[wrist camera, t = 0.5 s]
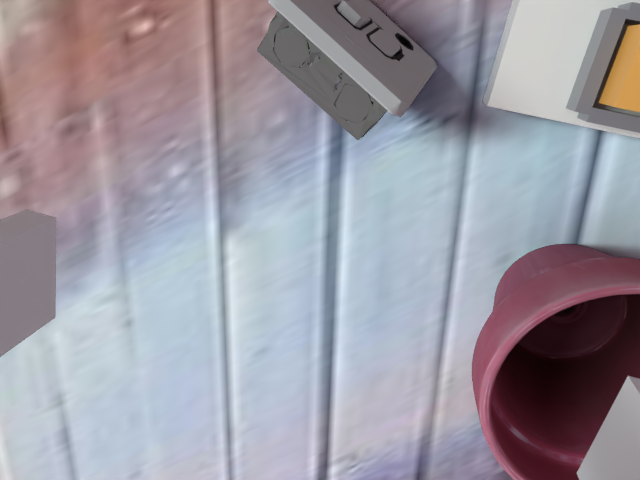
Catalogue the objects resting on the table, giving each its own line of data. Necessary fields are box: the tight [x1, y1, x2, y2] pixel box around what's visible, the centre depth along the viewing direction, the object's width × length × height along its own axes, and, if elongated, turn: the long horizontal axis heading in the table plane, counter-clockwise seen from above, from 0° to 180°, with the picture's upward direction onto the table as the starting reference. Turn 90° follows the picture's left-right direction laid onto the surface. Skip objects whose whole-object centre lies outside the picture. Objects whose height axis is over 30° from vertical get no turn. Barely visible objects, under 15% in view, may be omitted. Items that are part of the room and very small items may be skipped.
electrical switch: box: [257, 0, 437, 140], centre depth 30 cm, size 9×5×9 cm, turn 50°
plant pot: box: [472, 244, 640, 480], centre depth 32 cm, size 14×14×13 cm
